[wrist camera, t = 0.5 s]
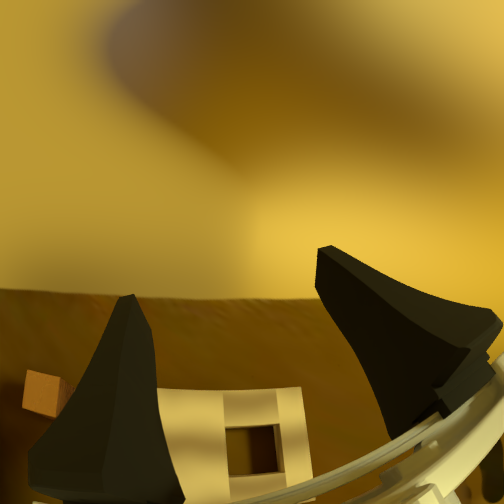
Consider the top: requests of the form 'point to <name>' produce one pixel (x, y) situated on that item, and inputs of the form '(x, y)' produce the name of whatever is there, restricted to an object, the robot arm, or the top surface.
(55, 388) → the brown wooden block
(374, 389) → the robot arm
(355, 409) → the top surface
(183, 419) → the board
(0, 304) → the top surface
